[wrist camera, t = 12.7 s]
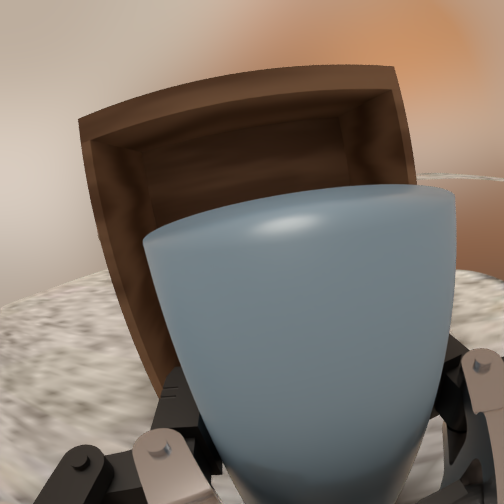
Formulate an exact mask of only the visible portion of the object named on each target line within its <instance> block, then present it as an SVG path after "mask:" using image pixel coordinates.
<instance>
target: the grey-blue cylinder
mask: <svg viewBox="0 0 504 504" xmlns="http://www.w3.org/2000/svg"><path fill="white" fill-rule="evenodd" d="M143 246H144V250H145V253H146V257H147V261H148V265H149V268H150V272H151V275H152V279H153V282H154V286H155V289H156V293H157V296H158V299H159V302H160V306H161V309H162V312H163V315H164V318H165V321H166V324H167V327H168V330H169V333H170V336H171V339H172V342H173V345H174V348H175V350H176V353H177V356H178V359H179V361H180V364H181V367H182V369H183V372H184V375H185V377H186V380H187V382H188V385H189V387H190V390H191V392H192V395H193V397H194V400H195V402H196V405H197V407H198V409H199V412H200V414H201V416H202V419H203V421H204V423H205V425H206V428H207V430H208V432H209V434H210V436H211V439H212V441H213V443H214V445H215V447H216V449H217V451H218V453H219V455H220V457H221V459H222V461H223V463H224V465H225V467H226V469H227V471H228V473H229V475H230V477H231V479H232V481H233V483H234V485H235V487H236V488H237V490H238V492H239V494H240V496H241V498H242V499H243V501H244V503H245V504H395V502H396V500H397V498H398V496H399V494H400V492H401V490H402V488H403V486H404V484H405V482H406V479H407V477H408V475H409V473H410V470H411V468H412V465H413V463H414V461H415V458H416V456H417V453H418V450H419V448H420V445H421V442H422V439H423V437H424V434H425V431H426V428H427V425H428V422H429V418H430V415H431V412H432V408H433V405H434V401H435V398H436V394H437V390H438V386H439V382H440V378H441V373H442V369H443V364H444V359H445V354H446V349H447V343H448V337H449V331H450V324H451V316H452V308H453V298H454V287H455V271H456V207H455V195H454V194H453V193H452V192H450V191H448V190H445V189H442V188H437V187H431V186H423V185H407V184H379V185H359V186H345V187H335V188H325V189H317V190H309V191H302V192H295V193H289V194H283V195H277V196H271V197H266V198H260V199H255V200H251V201H246V202H241V203H237V204H232V205H228V206H224V207H220V208H216V209H213V210H209V211H205V212H202V213H198V214H195V215H192V216H189V217H186V218H183V219H180V220H177V221H174V222H172V223H169V224H167V225H164V226H162V227H160V228H158V229H156V230H154V231H152V232H151V233H149V234H148V235H147V236H146V237H145V238H144V239H143Z"/></svg>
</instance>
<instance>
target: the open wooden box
mask: <svg viewBox="0 0 504 504" xmlns="http://www.w3.org/2000/svg"><path fill="white" fill-rule="evenodd" d="M78 122H79V131H80V140H81V147H82V154H83V160H84V166H85V173H86V178H87V184H88V189H89V194H90V199H91V204H92V209H93V213H94V217H95V222H96V225H97V230H98V234H99V238H100V242H101V245H102V249H103V253H104V256H105V260H106V263H107V267H108V270H109V273H110V277H111V280H112V283H113V286H114V289H115V292H116V295H117V298H118V301H119V304H120V307H121V310H122V313H123V315H124V318H125V321H126V323H127V326H128V329H129V331H130V334H131V336H132V339H133V342H134V344H135V346H136V349H137V351H138V354H139V356H140V358H141V361H142V363H143V365H144V368H145V370H146V372H147V374H148V377H149V379H150V381H151V383H152V385H153V387H154V390H155V392H156V394H157V396H158V398H159V399H161V397H160V396H161V392H162V390H163V386H164V382H165V379H166V377H167V375H168V374H169V373H170V372H171V371H172V370H173V369H174V368H175V367H181V364H180V361H179V359H178V356H177V353H176V350H175V348H174V345H173V342H172V339H171V336H170V333H169V330H168V327H167V324H166V321H165V318H164V315H163V312H162V309H161V306H160V302H159V299H158V296H157V293H156V289H155V286H154V282H153V279H152V275H151V272H150V268H149V265H148V261H147V257H146V253H145V250H144V246H143V239H144V238H145V237H146V236H147V235H148V234H149V233H151V232H152V231H154V230H156V229H158V228H160V227H162V226H164V225H167V224H169V223H172V222H174V221H177V220H180V219H183V218H186V217H189V216H192V215H195V214H198V213H202V212H205V211H209V210H213V209H216V208H220V207H224V206H228V205H232V204H237V203H241V202H246V201H251V200H255V199H260V198H266V197H271V196H277V195H283V194H289V193H295V192H302V191H309V190H317V189H325V188H335V187H345V186H359V185H379V184H407V185H417V181H416V172H415V165H414V158H413V151H412V145H411V139H410V133H409V128H408V123H407V118H406V113H405V109H404V104H403V100H402V96H401V91H400V87H399V84H398V80H397V76H396V73H395V70H394V67H393V66H378V65H312V66H295V67H283V68H273V69H265V70H257V71H249V72H242V73H236V74H230V75H224V76H219V77H214V78H209V79H204V80H199V81H195V82H190V83H186V84H182V85H178V86H174V87H170V88H166V89H163V90H159V91H156V92H152V93H149V94H145V95H142V96H139V97H136V98H133V99H130V100H127V101H124V102H121V103H118V104H115V105H112V106H109V107H107V108H104V109H101V110H99V111H96V112H94V113H91V114H89V115H87V116H84V117H82V118H79V119H78Z"/></svg>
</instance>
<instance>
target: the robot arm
mask: <svg viewBox="0 0 504 504" xmlns="http://www.w3.org/2000/svg"><path fill="white" fill-rule="evenodd" d="M160 397H161V399H159V402H158V406H157V409H156V413H155V416H154V419H153V423H152V426H151V430H150V431H148V432H146V433H145V434H143V435H142V436H140V437H139V438H138V439H137V441H136V442H135V444H134V446H133V449H132V450H129V451H125V452H121V453H116V454H111V455H105V456H104V454H103V453H102V452H101V450H100V449H98V448H97V447H95V446H92V445H80V446H77V447H74V448H72V449H71V450H69V451H68V452H67V453H66V454H65V455H64V456H63V458H62V459H61V461H60V462H59V464H58V466H57V467H56V469H55V470H54V472H53V473H52V475H51V476H50V478H49V479H48V481H47V483H46V484H45V486H44V487H43V489H42V490H41V492H40V494H39V495H38V497H37V498H36V500H35V502H34V503H33V504H223V502H222V501H221V499H220V498H219V496H218V494H217V493H216V491H215V490H214V488H213V487H212V485H211V475H222V459H221V457H220V455H219V453H218V451H217V449H216V447H215V445H214V443H213V441H212V439H211V436H210V434H209V432H208V430H207V428H206V425H205V423H204V421H203V419H202V416H201V414H200V412H199V409H198V407H197V405H196V402H195V400H194V397H193V395H192V392H191V390H190V387H189V385H188V382H187V380H186V377H185V375H184V372H183V369H182V367H175V368H174V369H173V370H172V371H171V372H170V373H169V374H168V375H167V377H166V379H165V382H164V386H163V390H162V392H161V396H160ZM438 415H440V416H441V417H442V418H443V420H444V421H443V424H442V433H443V449H444V476H443V480H442V483H441V486H440V490H439V491H437V492H435V493H433V494H431V495H429V496H427V497H425V498H423V499H421V500H420V501H419V502H417V503H416V504H504V357H500V355H499V354H497V353H496V352H494V351H492V350H489V349H483V348H480V349H473V350H471V351H470V350H468V349H467V348H466V347H465V346H464V345H462V344H461V343H460V342H459V341H458V340H457V339H455V338H454V337H453V336H452V335H451V334H449V337H448V343H447V349H446V354H445V359H444V364H443V369H442V373H441V378H440V382H439V386H438V390H437V394H436V398H435V401H434V405H433V408H432V412H431V415H430V418H429V419H432V418H434V417H436V416H438Z"/></svg>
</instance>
